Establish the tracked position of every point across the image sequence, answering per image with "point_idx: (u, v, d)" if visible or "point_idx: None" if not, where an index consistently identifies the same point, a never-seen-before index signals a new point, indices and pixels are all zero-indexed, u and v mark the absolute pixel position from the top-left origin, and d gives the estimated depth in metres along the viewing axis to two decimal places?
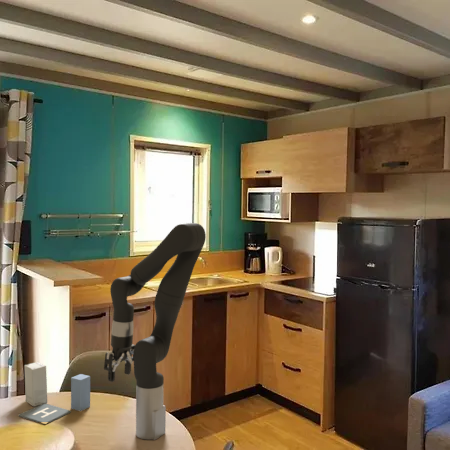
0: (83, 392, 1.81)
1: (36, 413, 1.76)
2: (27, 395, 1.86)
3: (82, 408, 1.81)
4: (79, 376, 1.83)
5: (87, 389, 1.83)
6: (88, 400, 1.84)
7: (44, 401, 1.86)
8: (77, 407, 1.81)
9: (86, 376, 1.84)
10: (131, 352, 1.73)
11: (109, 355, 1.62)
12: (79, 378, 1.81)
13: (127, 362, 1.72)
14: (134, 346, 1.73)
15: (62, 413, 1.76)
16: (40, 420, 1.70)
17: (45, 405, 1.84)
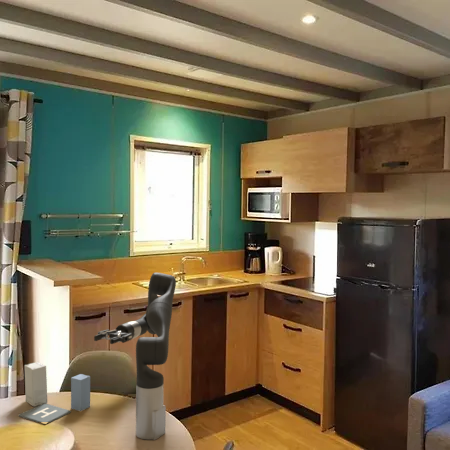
0: (83, 392, 1.81)
1: (36, 413, 1.76)
2: (27, 395, 1.86)
3: (82, 408, 1.81)
4: (79, 376, 1.83)
5: (87, 389, 1.83)
6: (88, 400, 1.84)
7: (44, 401, 1.86)
8: (77, 407, 1.81)
9: (86, 376, 1.84)
10: None
11: None
12: (79, 378, 1.81)
13: None
14: (129, 333, 1.99)
15: (62, 413, 1.76)
16: (40, 420, 1.70)
17: (45, 405, 1.84)
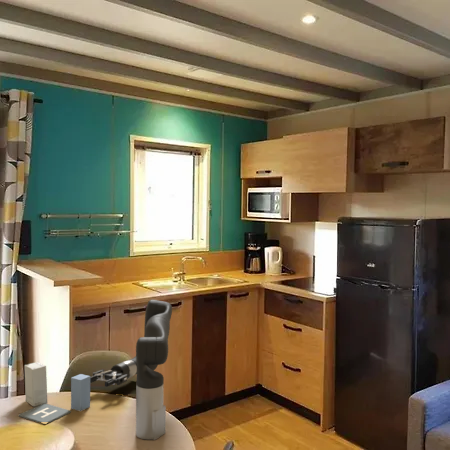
0: (83, 392, 1.81)
1: (36, 413, 1.76)
2: (27, 395, 1.86)
3: (82, 408, 1.81)
4: (79, 376, 1.83)
5: (87, 389, 1.83)
6: (88, 400, 1.84)
7: (44, 401, 1.86)
8: (77, 407, 1.81)
9: (86, 376, 1.84)
10: None
11: None
12: (79, 378, 1.81)
13: None
14: (125, 374, 1.97)
15: (62, 413, 1.76)
16: (40, 420, 1.70)
17: (45, 405, 1.84)
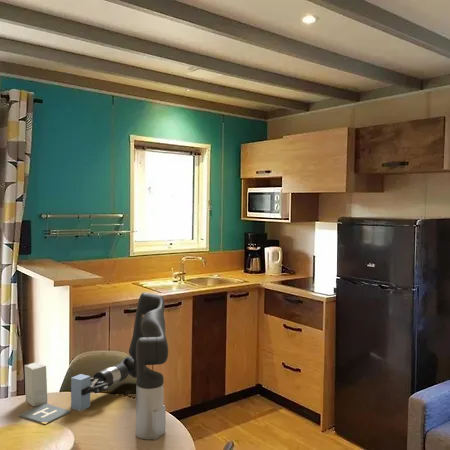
0: None
1: (36, 413, 1.76)
2: (27, 395, 1.86)
3: (82, 408, 1.81)
4: (79, 376, 1.83)
5: None
6: (88, 400, 1.84)
7: (44, 401, 1.86)
8: (77, 407, 1.81)
9: (86, 376, 1.84)
10: None
11: None
12: (79, 378, 1.81)
13: None
14: (106, 382, 1.87)
15: (62, 413, 1.76)
16: (40, 420, 1.70)
17: (45, 405, 1.84)
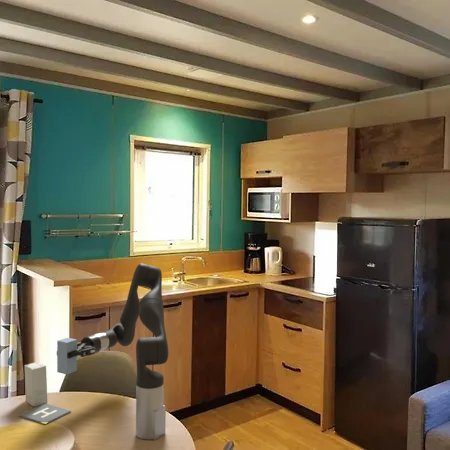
0: None
1: (36, 413, 1.76)
2: (27, 395, 1.86)
3: (68, 372, 1.78)
4: (65, 340, 1.80)
5: None
6: (75, 364, 1.81)
7: (44, 401, 1.86)
8: (63, 370, 1.78)
9: (72, 339, 1.81)
10: None
11: None
12: (65, 341, 1.79)
13: None
14: (93, 347, 1.84)
15: (62, 413, 1.76)
16: (40, 420, 1.70)
17: (45, 405, 1.84)
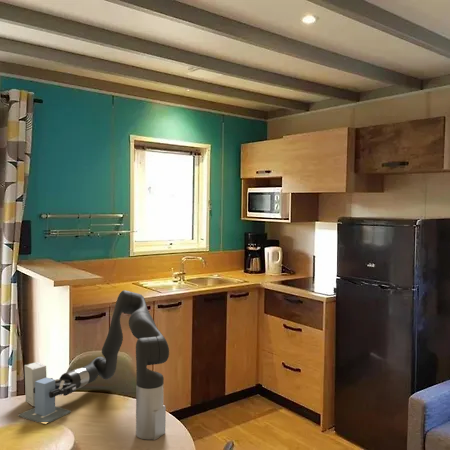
0: (47, 397, 1.74)
1: None
2: (27, 395, 1.86)
3: (46, 413, 1.74)
4: (43, 380, 1.77)
5: None
6: (53, 405, 1.77)
7: None
8: (41, 411, 1.74)
9: (51, 379, 1.78)
10: None
11: None
12: (43, 382, 1.75)
13: None
14: (73, 384, 1.81)
15: (62, 413, 1.76)
16: (40, 420, 1.70)
17: None
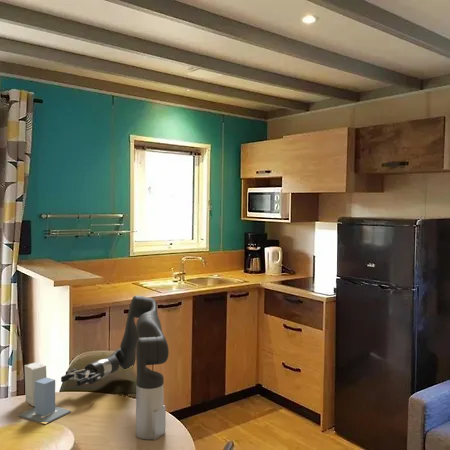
0: (47, 397, 1.74)
1: None
2: (27, 395, 1.86)
3: (46, 413, 1.74)
4: (43, 380, 1.77)
5: (52, 393, 1.76)
6: (53, 405, 1.77)
7: None
8: (41, 411, 1.74)
9: (51, 379, 1.78)
10: None
11: None
12: (43, 382, 1.75)
13: None
14: (98, 373, 1.93)
15: (62, 413, 1.76)
16: (40, 420, 1.70)
17: None
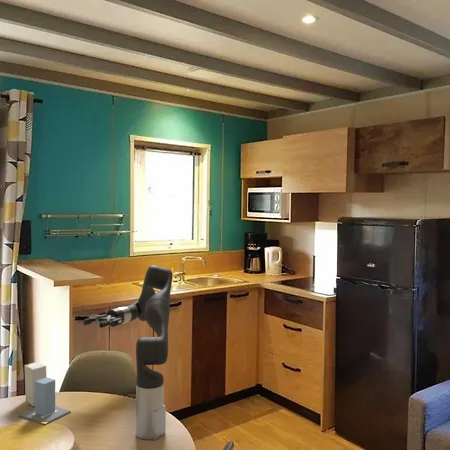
0: (47, 397, 1.74)
1: None
2: (27, 395, 1.86)
3: (46, 413, 1.74)
4: (43, 380, 1.77)
5: (52, 393, 1.76)
6: (53, 405, 1.77)
7: None
8: (41, 411, 1.74)
9: (51, 379, 1.78)
10: None
11: None
12: (43, 382, 1.75)
13: None
14: (119, 317, 1.99)
15: (62, 413, 1.76)
16: (40, 420, 1.70)
17: None
